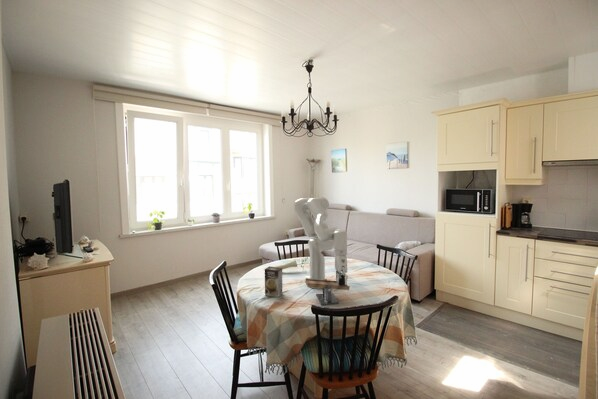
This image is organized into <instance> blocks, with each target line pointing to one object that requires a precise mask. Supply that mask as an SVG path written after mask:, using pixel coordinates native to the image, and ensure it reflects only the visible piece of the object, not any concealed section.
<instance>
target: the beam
mask: <svg viewBox="0 0 598 399" xmlns="http://www.w3.org/2000/svg"><path fill="white" fill-rule="evenodd" d="M304 283H305V284H306V286H307V288H311V287H314V288H313V289H315V288H320V289H323V288H327V286H329V285H331V290H341V291H350V286H349V285H348V284H347V286H342V285H337V284H336V280H328V279H327V280H318V279H306V280H305V281H304Z"/></svg>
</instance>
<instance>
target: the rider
mask: <svg viewBox="0 0 598 399" xmlns="http://www.w3.org/2000/svg"><path fill="white" fill-rule="evenodd" d="M341 275H342V274H341ZM339 278H340V274H339V273H337V278H336V277H335V281H336V284H337V285H339ZM348 278H349V276H348V274H346V275H345V285H342V286H347V285H348Z"/></svg>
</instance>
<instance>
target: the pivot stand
mask: <svg viewBox="0 0 598 399" xmlns="http://www.w3.org/2000/svg"><path fill="white" fill-rule="evenodd" d="M323 280H328V279H327V278H326V279H323ZM315 296H316V298H317V301H318V302H319V304H320V306H329V305H330V306H331V305H339V304H340V303H339V301H338V299H337V297H336V296H335V295H334V293H333V292H332V289H331V285H329V286H327V288H322V293H316V294H315Z"/></svg>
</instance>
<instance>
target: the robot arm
mask: <svg viewBox="0 0 598 399" xmlns="http://www.w3.org/2000/svg"><path fill="white" fill-rule="evenodd" d="M328 208H330V202H329V201H328V199H327V198H326V197H303V198H302V197H301V198H299V199H296V200H295V201H294V203H293V209H294V212H295V214H296V217H297V218H298V220H299V221H300V223H301V226H302V228H303V231H304V234H305V235H306V237H307V238H310V239H308V242H307V246H308V252H309V265H310V266H309V276H306V275H305V277H304V278H305V280H306V279H318V280H323V279H325V277H326V275H325V274H326V271H325V270H326V269H325V267H326V266H325V265H326V263H325V262H326V260H325V259H326V258H325V256H324V255H323V253H322V252H326V251H331V250H333V255H334V268H335V279H336V278H337V273H339V274H340V278H339V285H345V275H347V273H348V258H347V256H348V232H347V231H346V230H345V229H341V228H340V227H328V225H327V224H326V223H325V221H326V220H327V218H328V217H329V214H328V212H327V211H326V210H328ZM308 211H310V213H311V214H310V213H309V212H308ZM314 219H315V220H314ZM341 274H342V275H341ZM310 288H312V289H316V290H317V289H321V288H314V287H310Z"/></svg>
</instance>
